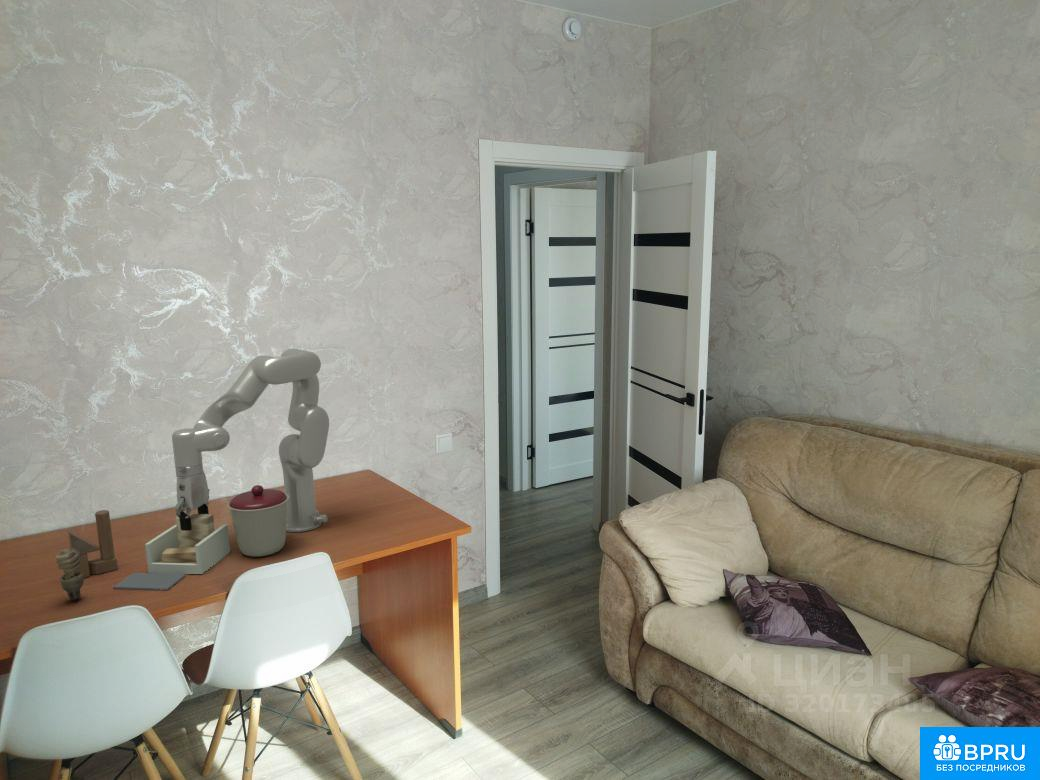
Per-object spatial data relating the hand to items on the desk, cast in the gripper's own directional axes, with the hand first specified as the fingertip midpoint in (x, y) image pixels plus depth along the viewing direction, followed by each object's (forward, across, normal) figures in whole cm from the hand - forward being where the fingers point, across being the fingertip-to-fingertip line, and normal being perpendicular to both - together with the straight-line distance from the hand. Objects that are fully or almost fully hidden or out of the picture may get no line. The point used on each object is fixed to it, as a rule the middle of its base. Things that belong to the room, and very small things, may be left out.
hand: (195, 524), depth 222 cm
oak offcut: (+8, -9, 0) cm, 12 cm away
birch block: (+10, 0, 0) cm, 10 cm away
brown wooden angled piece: (+11, -14, +24) cm, 30 cm away
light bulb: (+11, -30, +18) cm, 37 cm away
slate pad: (+10, -18, +4) cm, 22 cm away
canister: (+11, +6, -18) cm, 22 cm away
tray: (+10, -4, 0) cm, 11 cm away
